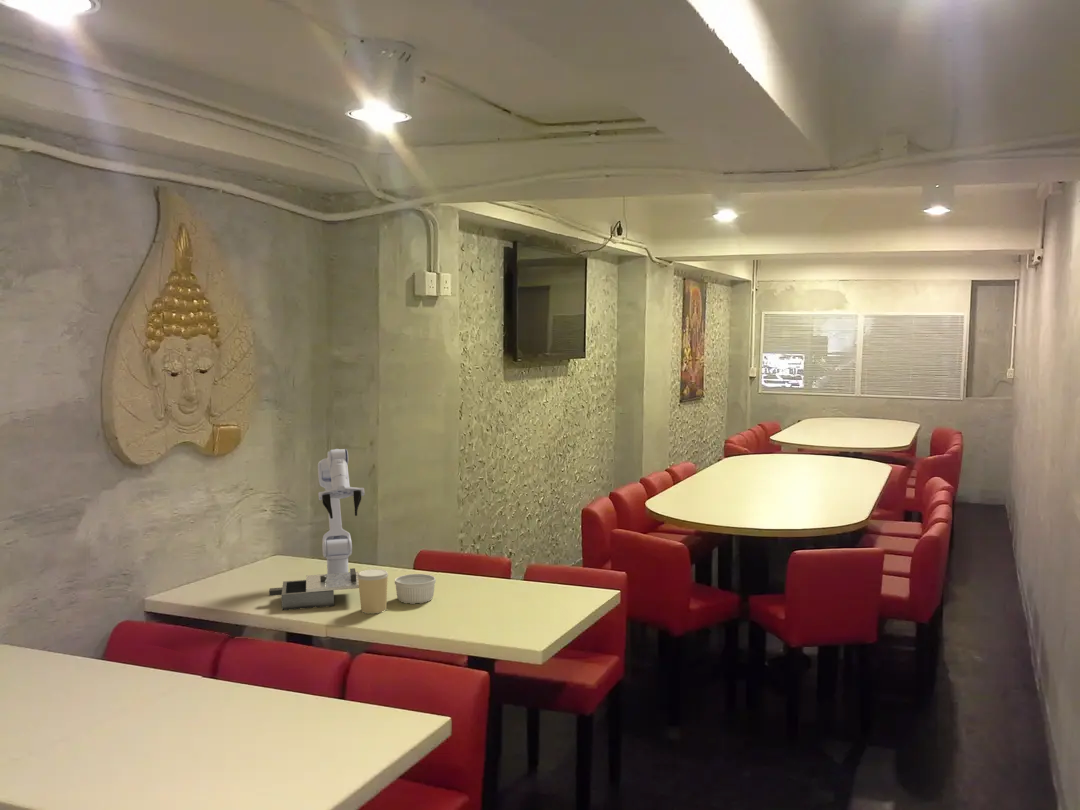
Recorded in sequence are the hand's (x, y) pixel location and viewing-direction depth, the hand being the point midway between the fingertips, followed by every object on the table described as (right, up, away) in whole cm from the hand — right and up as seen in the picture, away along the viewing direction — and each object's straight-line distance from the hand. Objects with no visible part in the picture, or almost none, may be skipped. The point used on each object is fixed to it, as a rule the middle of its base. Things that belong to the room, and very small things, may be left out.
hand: (343, 515), depth 277 cm
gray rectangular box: (-15, -29, +6) cm, 33 cm away
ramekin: (+22, -29, +8) cm, 37 cm away
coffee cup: (+10, -30, -3) cm, 31 cm away
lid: (-5, -23, +9) cm, 25 cm away
